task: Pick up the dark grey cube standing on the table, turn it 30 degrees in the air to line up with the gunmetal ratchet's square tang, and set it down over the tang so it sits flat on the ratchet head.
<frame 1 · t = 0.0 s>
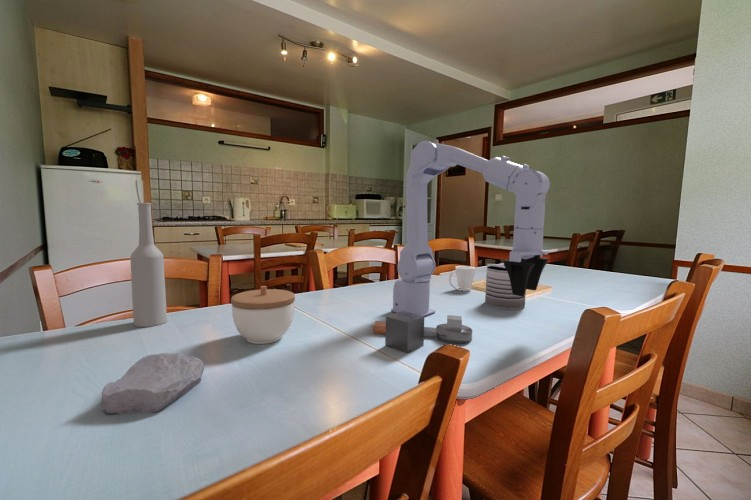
hand: (524, 292, 75), 10 cm above the table, tool pointing down, fingers open, 7 cm apart
stone block: (161, 394, 51), on the table
lidded bowl: (264, 338, 74), on the table
bottle: (150, 323, 82), on the table
ratchet: (453, 337, 75), on the table
dark grey cube: (404, 345, 70), on the table
can: (504, 305, 104), on the table
cup: (460, 290, 123), on the table
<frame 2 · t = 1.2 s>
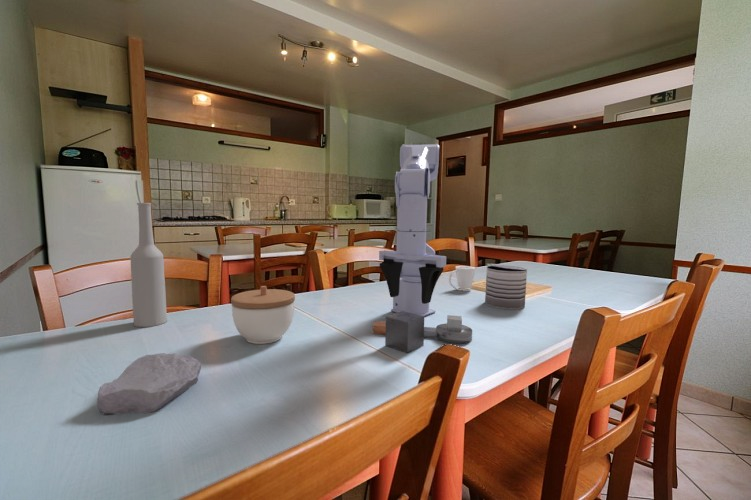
hand: (409, 299, 70), 9 cm above the table, tool pointing down, fingers open, 7 cm apart
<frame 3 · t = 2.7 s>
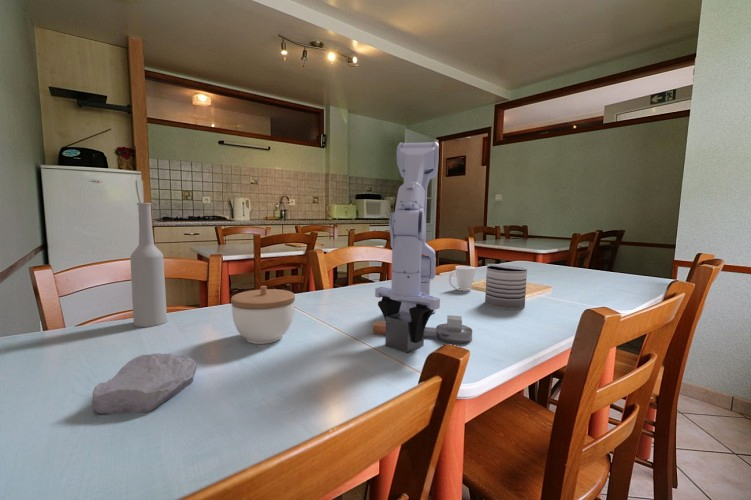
hand: (404, 337, 70), 2 cm above the table, tool pointing down, fingers closed on dark grey cube, 5 cm apart
dark grey cube: (404, 345, 70), on the table, touching gripper
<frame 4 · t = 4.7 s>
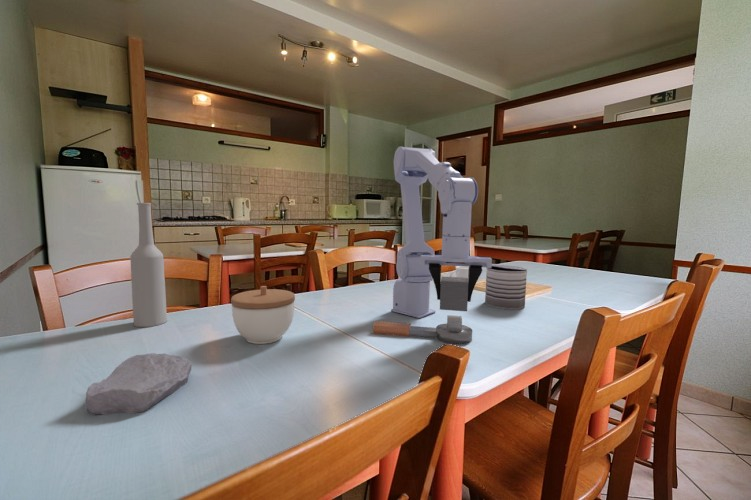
hand: (453, 299, 74), 8 cm above the table, tool pointing down, fingers closed on dark grey cube, 5 cm apart
dark grey cube: (453, 307, 74), point 7 cm above the table, touching gripper
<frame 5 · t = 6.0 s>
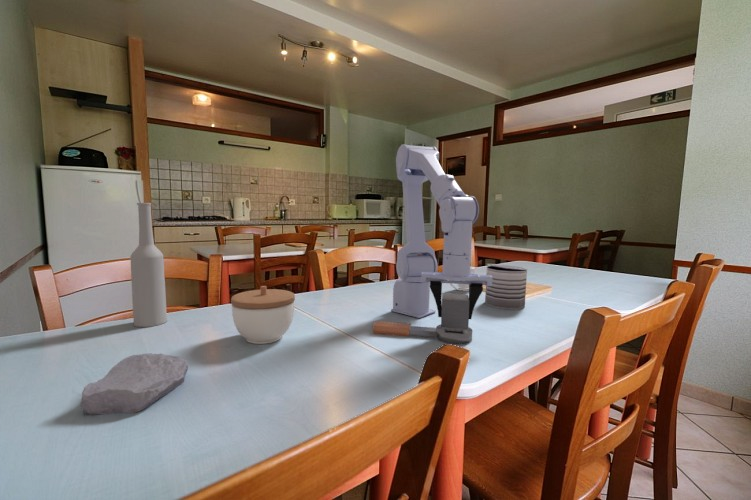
hand: (454, 316, 75), 5 cm above the table, tool pointing down, fingers closed on dark grey cube, 5 cm apart
dark grey cube: (454, 324, 75), point 3 cm above the table, touching gripper
when the fingers open (4 cm above the table, at t = 7.2 s): dark grey cube stays where it is, resting on ratchet.
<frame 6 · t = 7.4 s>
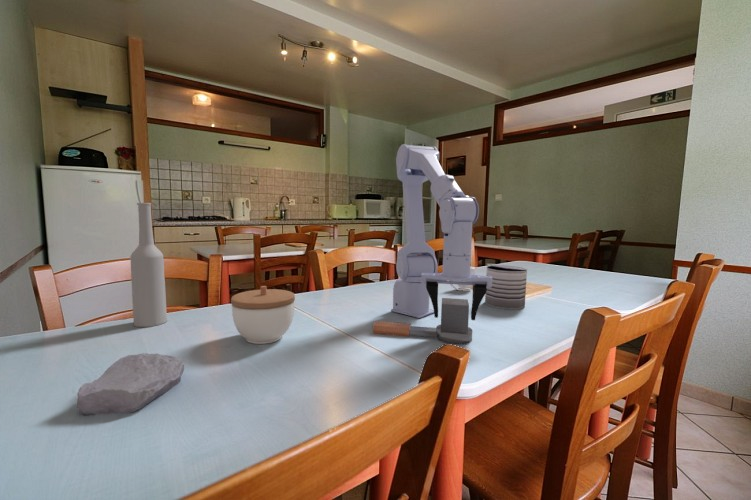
hand: (454, 317, 75), 4 cm above the table, tool pointing down, fingers open, 7 cm apart
ratchet: (453, 338, 75), on the table, touching dark grey cube
dark grey cube: (453, 328, 75), point 2 cm above the table, touching ratchet
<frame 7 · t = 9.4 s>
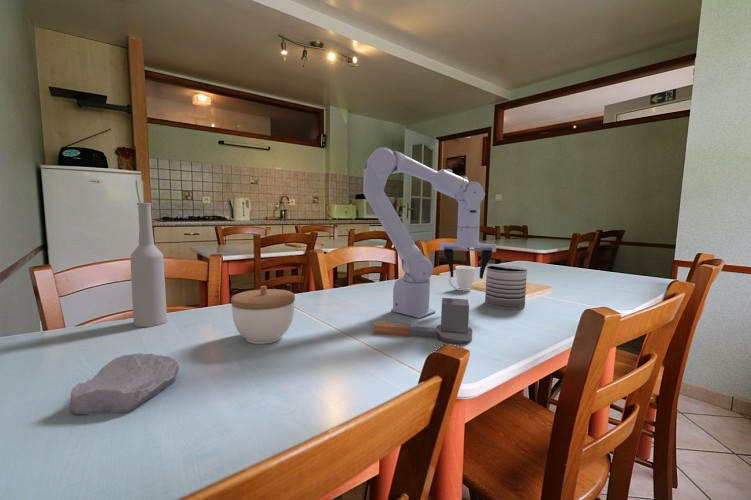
hand: (466, 277, 95), 9 cm above the table, tool pointing down, fingers open, 7 cm apart
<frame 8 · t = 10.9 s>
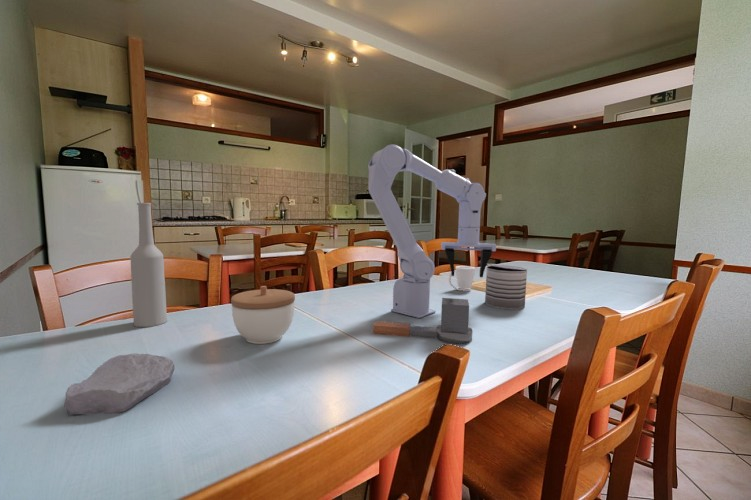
hand: (466, 276, 97), 9 cm above the table, tool pointing down, fingers open, 7 cm apart
at the end: dark grey cube 0.0 cm off-centre on the ratchet, point 2.0 cm above the ratchet's base; dark grey cube tilted 0°; the gripper is holding nothing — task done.
